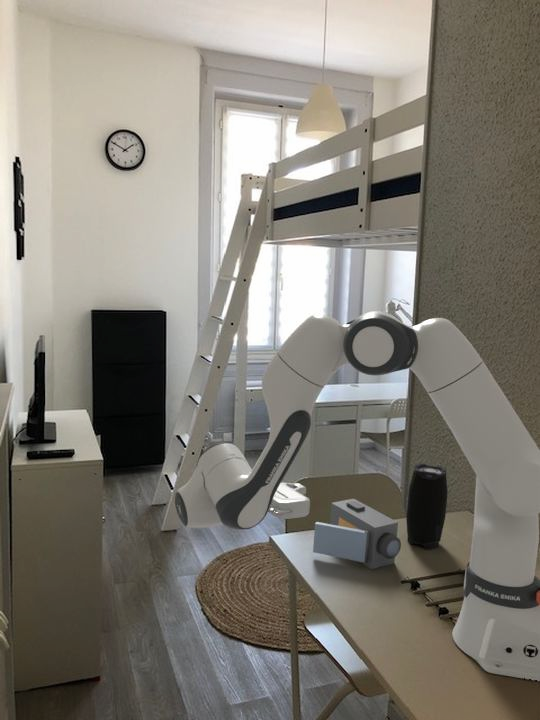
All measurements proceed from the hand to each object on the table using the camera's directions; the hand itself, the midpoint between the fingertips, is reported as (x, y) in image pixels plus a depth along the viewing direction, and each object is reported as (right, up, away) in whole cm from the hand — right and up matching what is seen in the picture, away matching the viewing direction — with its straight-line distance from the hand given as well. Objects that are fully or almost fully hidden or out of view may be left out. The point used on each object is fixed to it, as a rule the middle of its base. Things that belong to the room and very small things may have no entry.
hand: (302, 488), depth 136 cm
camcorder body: (+15, -18, +9) cm, 25 cm away
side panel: (+9, -17, +4) cm, 19 cm away
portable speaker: (+31, -18, +18) cm, 40 cm away
